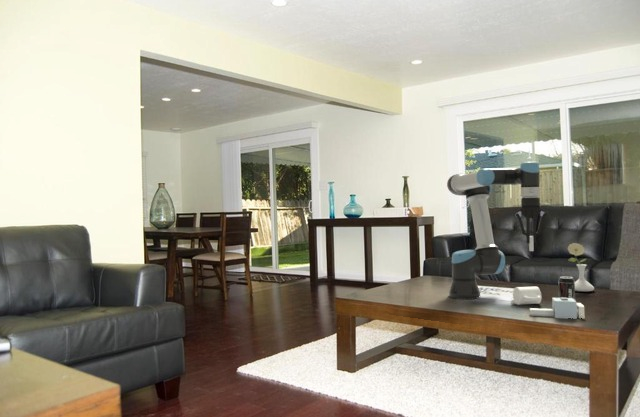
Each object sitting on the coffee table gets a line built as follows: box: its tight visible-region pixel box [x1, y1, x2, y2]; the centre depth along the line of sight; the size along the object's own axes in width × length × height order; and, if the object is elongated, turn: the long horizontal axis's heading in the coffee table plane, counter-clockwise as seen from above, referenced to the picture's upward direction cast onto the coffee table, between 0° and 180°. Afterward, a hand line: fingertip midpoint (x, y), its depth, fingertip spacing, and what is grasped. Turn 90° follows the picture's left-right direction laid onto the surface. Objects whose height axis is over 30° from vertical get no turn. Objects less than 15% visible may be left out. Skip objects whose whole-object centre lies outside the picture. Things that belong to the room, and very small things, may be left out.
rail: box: [529, 302, 586, 320], centre depth 208 cm, size 20×7×5 cm, turn 73°
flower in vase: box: [567, 242, 595, 293], centre depth 259 cm, size 13×11×25 cm
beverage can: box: [557, 275, 576, 301], centre depth 232 cm, size 7×7×12 cm
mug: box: [512, 286, 542, 306], centre depth 230 cm, size 12×10×8 cm
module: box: [551, 297, 578, 320], centre depth 207 cm, size 8×7×8 cm
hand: (531, 250), depth 218 cm, fingers closed
